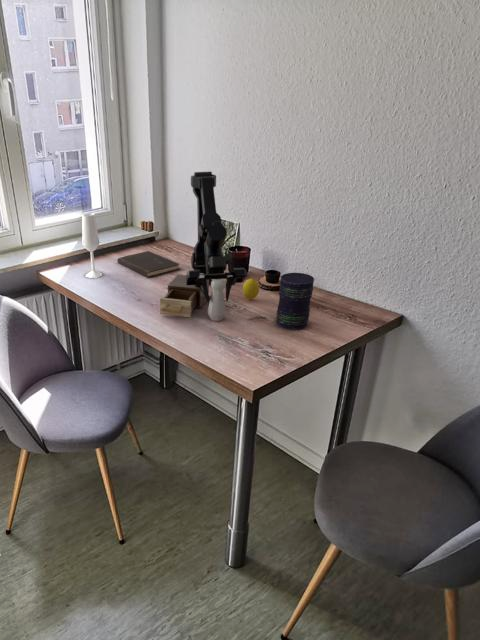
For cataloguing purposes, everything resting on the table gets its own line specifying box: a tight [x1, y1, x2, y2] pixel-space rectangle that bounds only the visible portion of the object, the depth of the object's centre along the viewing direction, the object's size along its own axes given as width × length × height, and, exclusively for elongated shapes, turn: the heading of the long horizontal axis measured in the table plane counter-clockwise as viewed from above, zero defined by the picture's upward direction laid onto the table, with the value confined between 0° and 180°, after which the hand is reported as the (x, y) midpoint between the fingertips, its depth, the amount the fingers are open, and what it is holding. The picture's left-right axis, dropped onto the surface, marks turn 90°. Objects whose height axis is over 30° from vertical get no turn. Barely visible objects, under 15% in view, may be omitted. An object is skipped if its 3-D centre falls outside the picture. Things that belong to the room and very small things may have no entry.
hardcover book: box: [117, 250, 180, 278], centre depth 210 cm, size 16×23×2 cm
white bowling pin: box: [207, 279, 227, 322], centre depth 160 cm, size 6×6×13 cm
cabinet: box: [167, 273, 210, 309], centre depth 176 cm, size 12×12×7 cm
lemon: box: [242, 277, 260, 301], centre depth 174 cm, size 6×6×8 cm
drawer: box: [159, 288, 197, 318], centre depth 166 cm, size 15×10×5 cm
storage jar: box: [275, 272, 315, 331], centre depth 155 cm, size 10×10×15 cm
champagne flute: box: [81, 212, 103, 279], centre depth 197 cm, size 7×7×24 cm
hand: (217, 301), depth 159 cm, fingers open, 6 cm apart
